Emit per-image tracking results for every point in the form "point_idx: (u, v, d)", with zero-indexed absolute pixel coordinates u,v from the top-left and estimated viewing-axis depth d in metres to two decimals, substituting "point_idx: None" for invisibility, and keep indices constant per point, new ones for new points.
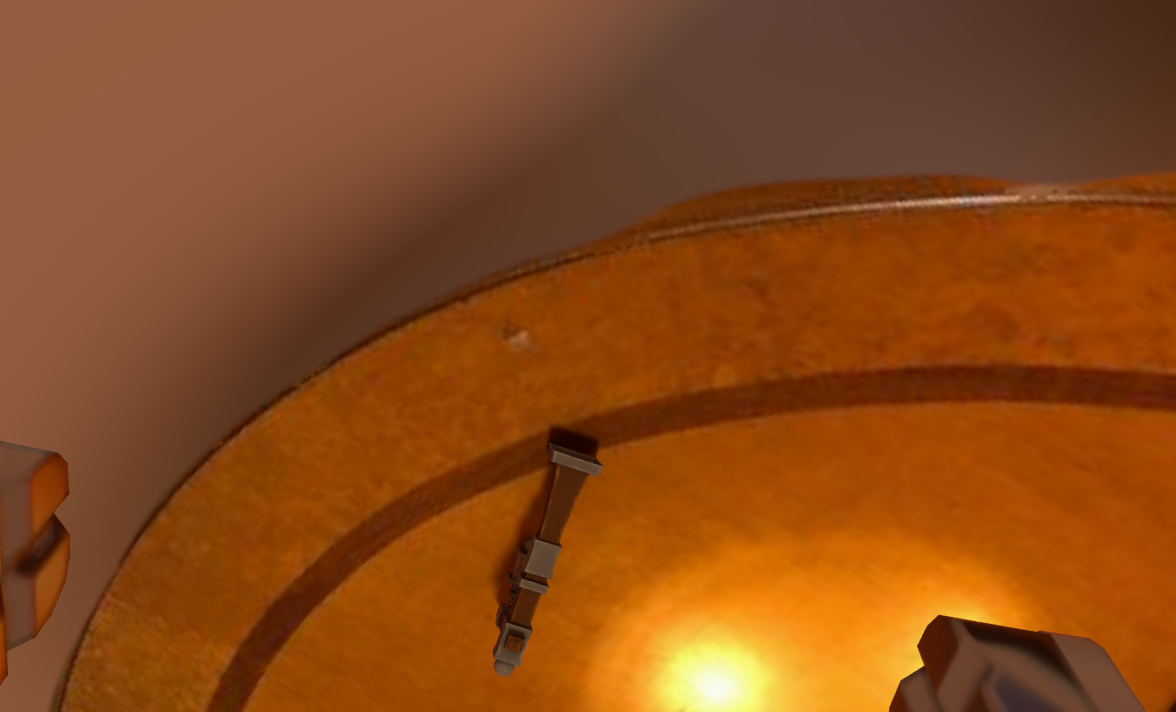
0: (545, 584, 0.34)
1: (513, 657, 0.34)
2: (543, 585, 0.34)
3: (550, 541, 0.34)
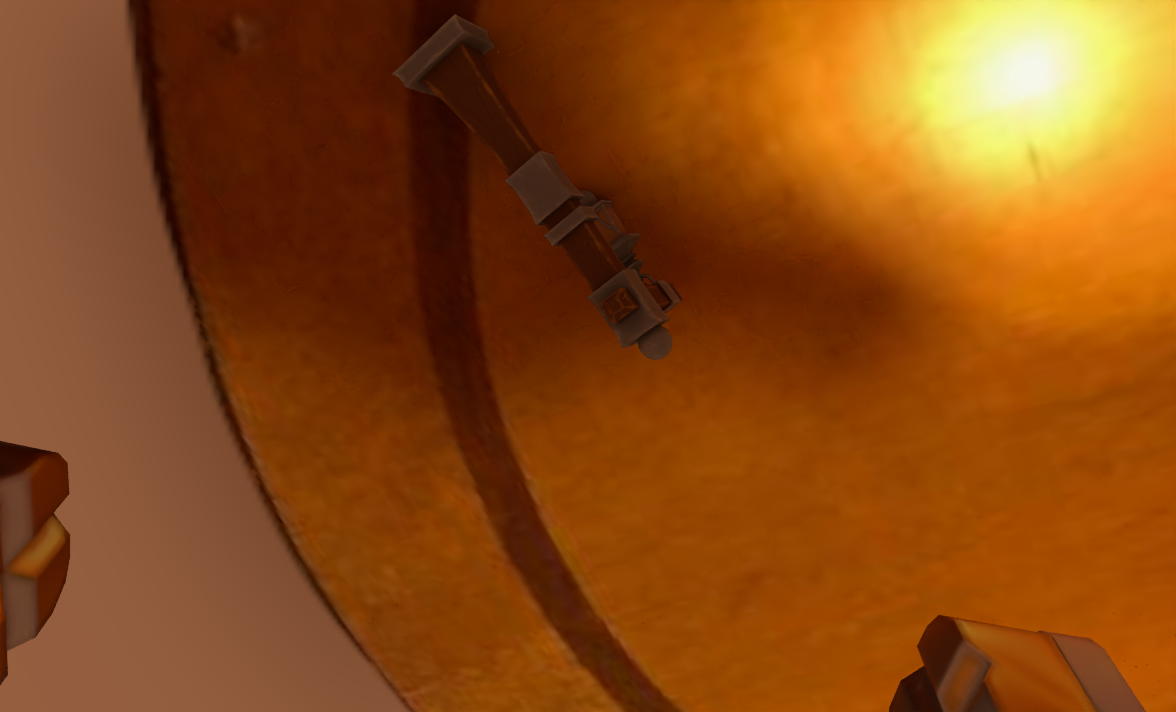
0: None
1: (640, 321, 0.20)
2: (573, 211, 0.20)
3: (523, 162, 0.20)
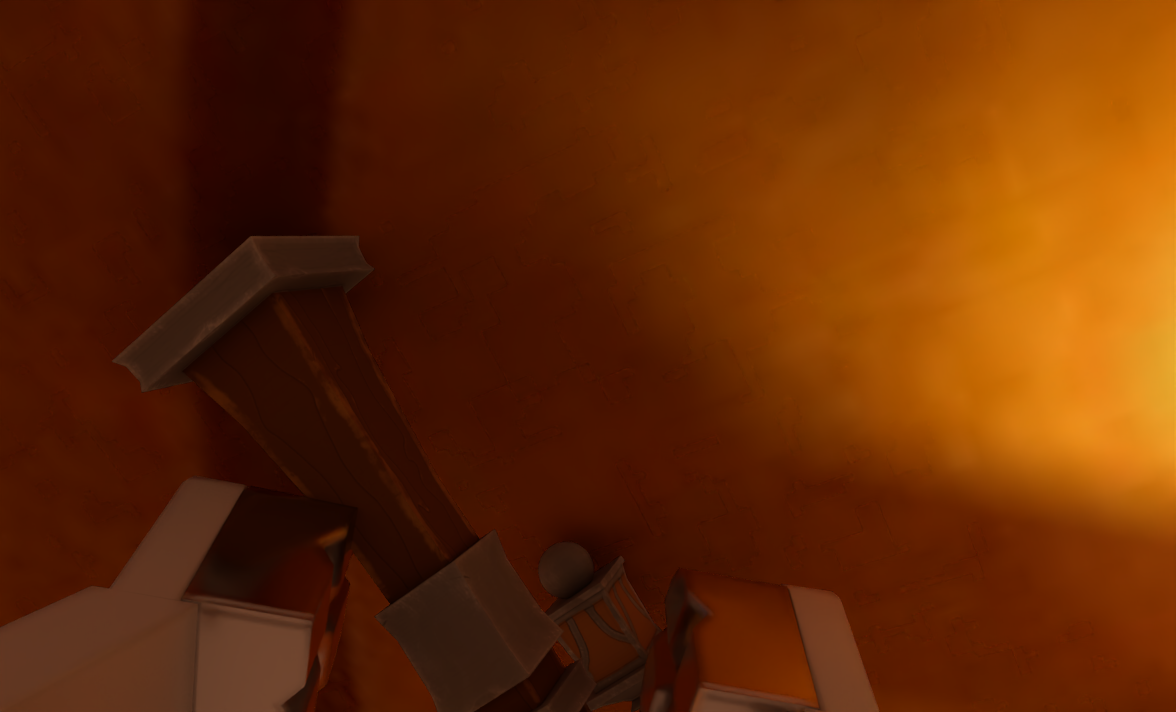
0: (546, 699, 0.08)
1: None
2: None
3: (418, 576, 0.09)
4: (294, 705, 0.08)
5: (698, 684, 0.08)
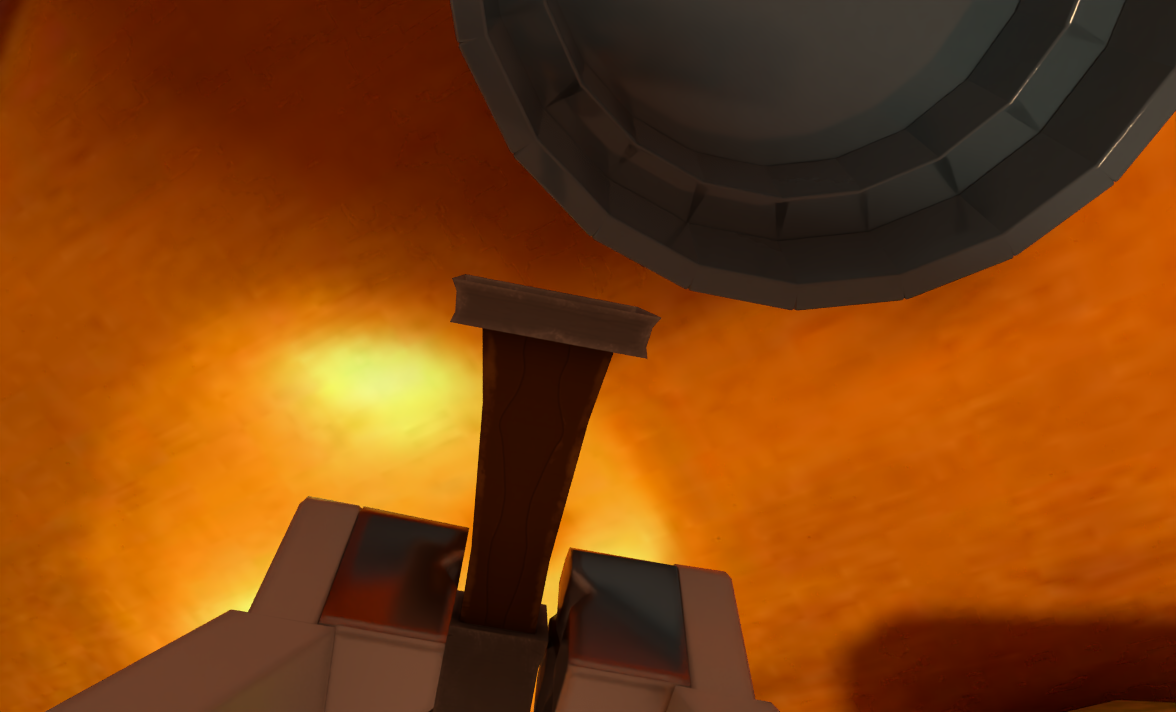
0: None
1: None
2: None
3: (504, 623, 0.09)
4: None
5: (568, 661, 0.07)
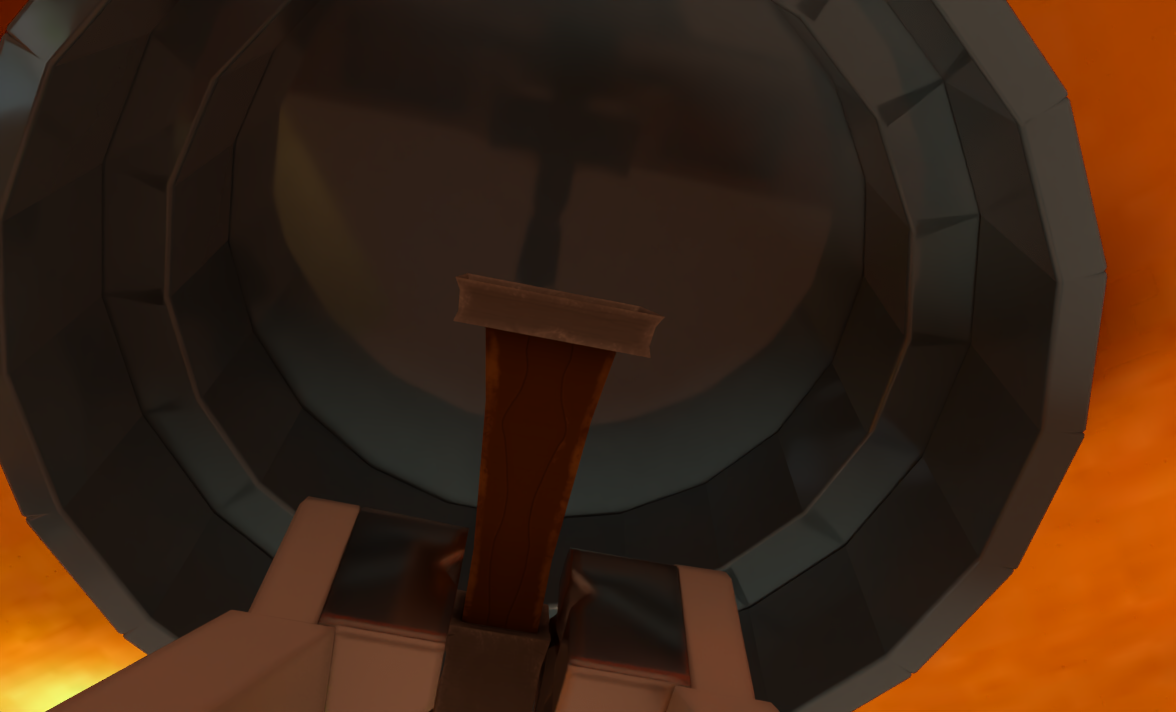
0: None
1: None
2: None
3: (506, 623, 0.09)
4: None
5: (569, 661, 0.07)
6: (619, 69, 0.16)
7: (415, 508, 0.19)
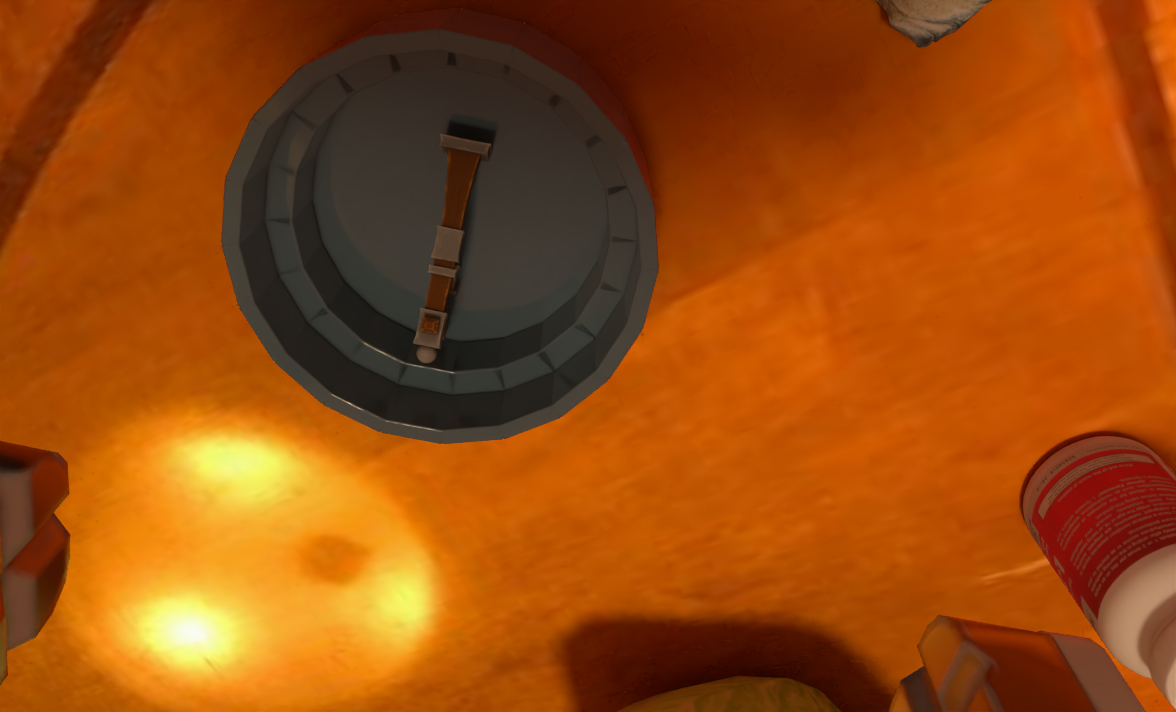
0: (454, 269, 0.35)
1: (431, 340, 0.35)
2: (451, 269, 0.35)
3: (452, 227, 0.35)
4: None
5: None
6: (489, 121, 0.36)
7: (399, 332, 0.39)
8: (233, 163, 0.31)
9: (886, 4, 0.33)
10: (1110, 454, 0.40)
